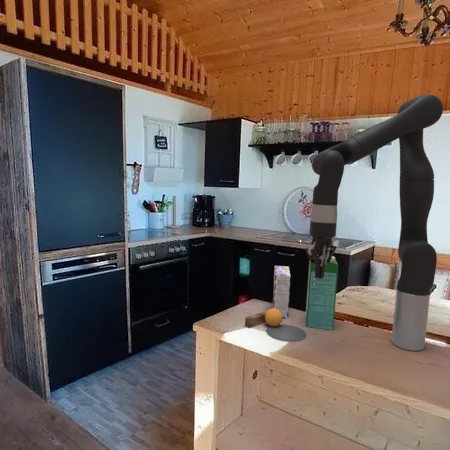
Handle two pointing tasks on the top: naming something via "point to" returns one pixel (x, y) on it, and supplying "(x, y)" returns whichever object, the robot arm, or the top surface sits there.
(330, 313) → the milk carton
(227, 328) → the top surface
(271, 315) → the ball
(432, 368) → the top surface
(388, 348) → the top surface
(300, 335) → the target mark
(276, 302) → the candy box
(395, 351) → the top surface
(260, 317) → the bar
